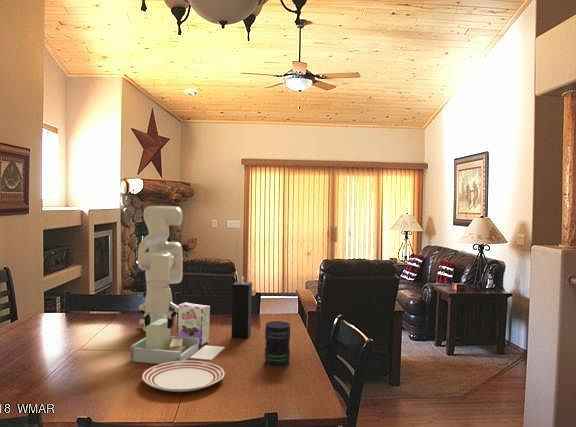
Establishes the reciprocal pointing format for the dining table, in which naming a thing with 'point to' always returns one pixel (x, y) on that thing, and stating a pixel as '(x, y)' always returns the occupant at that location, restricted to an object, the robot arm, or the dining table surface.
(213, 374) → the dinner plate
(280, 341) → the storage jar
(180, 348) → the offcut upper
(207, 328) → the candy box
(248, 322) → the tissue box
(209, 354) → the felt mat
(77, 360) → the dining table surface
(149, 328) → the pale green block
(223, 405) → the dining table surface
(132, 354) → the grey square tray frame
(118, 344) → the dining table surface
